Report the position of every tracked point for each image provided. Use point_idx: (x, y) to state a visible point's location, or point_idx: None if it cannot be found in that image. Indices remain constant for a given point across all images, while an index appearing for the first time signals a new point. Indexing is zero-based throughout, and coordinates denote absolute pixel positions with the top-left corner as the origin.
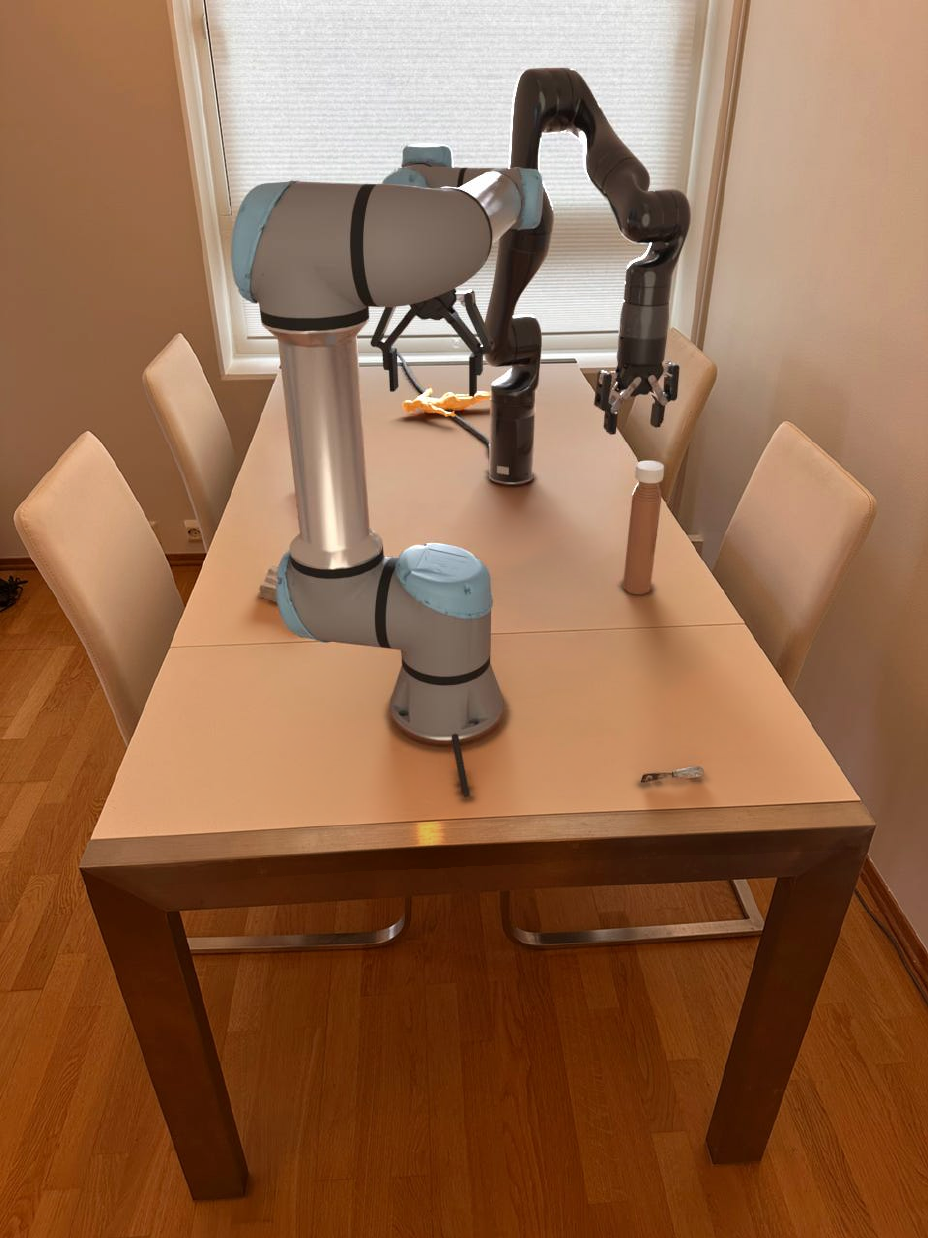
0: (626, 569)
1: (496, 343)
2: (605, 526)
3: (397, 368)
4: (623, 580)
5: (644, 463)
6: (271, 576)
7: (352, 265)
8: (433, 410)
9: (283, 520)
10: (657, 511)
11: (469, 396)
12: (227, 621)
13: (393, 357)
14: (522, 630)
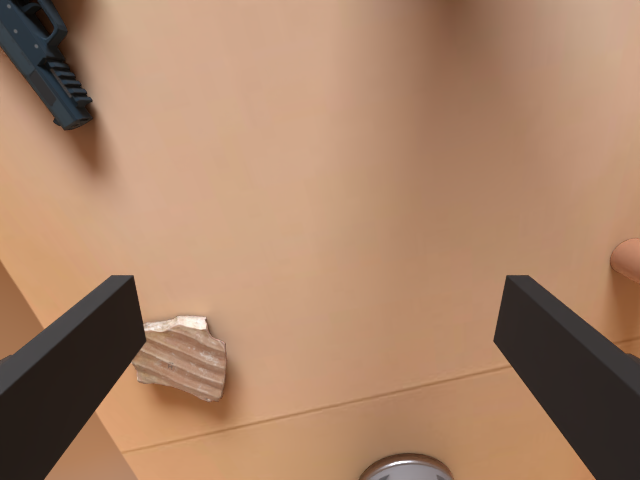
0: (637, 279)
1: None
2: (627, 45)
3: (75, 332)
4: (617, 260)
5: None
6: (138, 359)
7: None
8: None
9: (28, 148)
10: None
11: (494, 341)
12: (137, 410)
13: (28, 477)
14: (468, 371)
